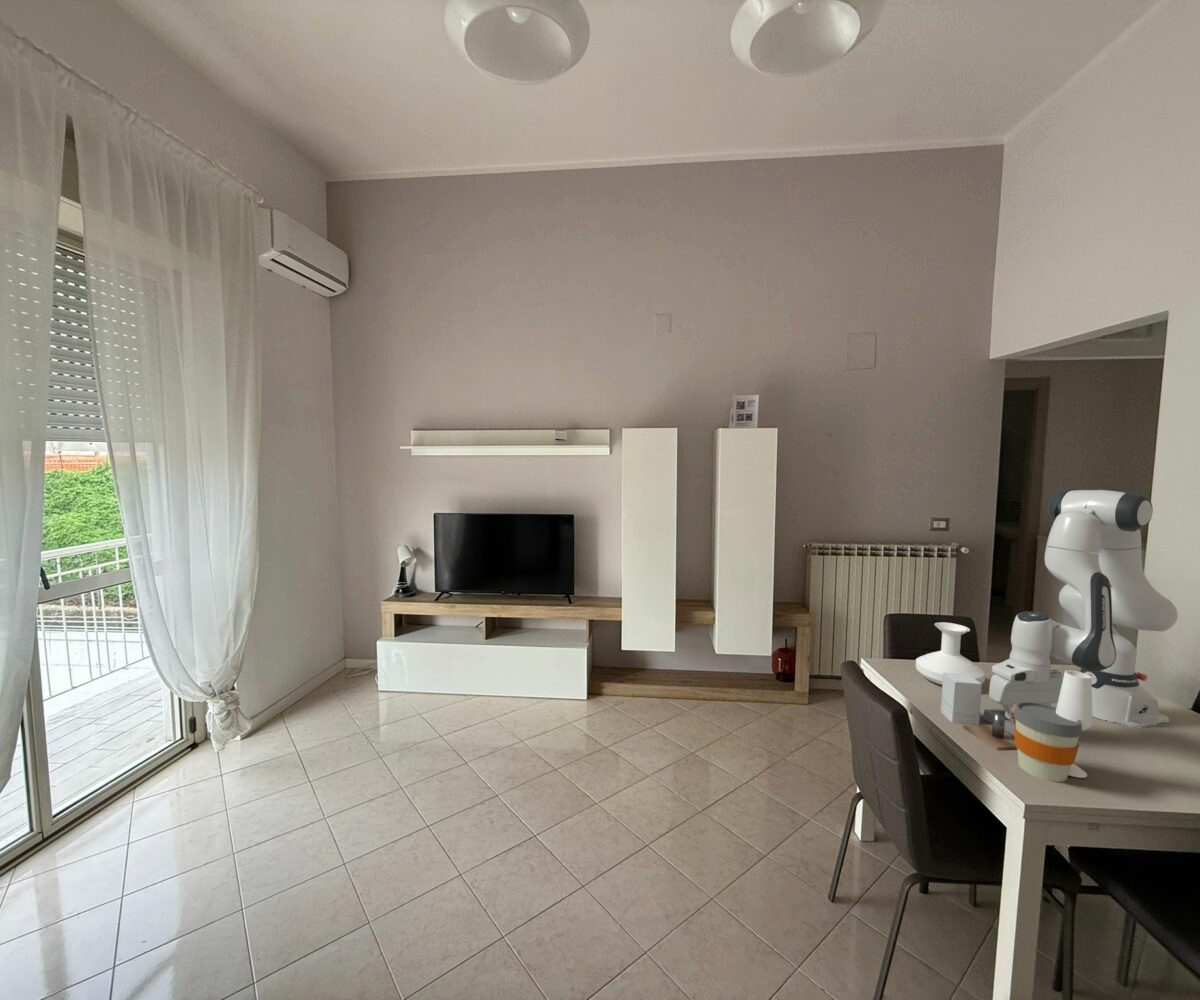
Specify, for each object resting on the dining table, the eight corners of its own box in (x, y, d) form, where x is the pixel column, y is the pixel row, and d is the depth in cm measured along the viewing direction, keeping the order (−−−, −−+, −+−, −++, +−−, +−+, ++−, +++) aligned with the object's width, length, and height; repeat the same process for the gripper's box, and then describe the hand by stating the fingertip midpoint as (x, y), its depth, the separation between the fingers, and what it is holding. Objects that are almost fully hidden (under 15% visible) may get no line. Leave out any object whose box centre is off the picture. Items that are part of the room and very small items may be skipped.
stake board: (995, 728, 146) (995, 724, 146) (1031, 750, 135) (1031, 745, 135) (962, 729, 145) (963, 725, 145) (996, 751, 134) (996, 747, 134)
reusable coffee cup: (1088, 793, 117) (1095, 730, 116) (1022, 780, 121) (1028, 719, 120) (1059, 764, 129) (1065, 706, 128) (1000, 753, 133) (1005, 697, 132)
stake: (997, 733, 141) (999, 712, 140) (1006, 738, 138) (1008, 716, 138) (989, 733, 140) (990, 712, 140) (997, 739, 138) (999, 717, 137)
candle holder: (986, 680, 179) (990, 626, 177) (981, 699, 164) (986, 641, 162) (919, 664, 192) (923, 614, 190) (909, 681, 176) (913, 627, 175)
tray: (1020, 717, 152) (1021, 708, 152) (1060, 739, 140) (1061, 729, 140) (983, 719, 151) (984, 709, 151) (1020, 741, 139) (1021, 731, 139)
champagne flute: (1082, 767, 126) (1091, 672, 125) (1091, 781, 120) (1101, 682, 119) (1047, 758, 130) (1055, 666, 128) (1054, 771, 124) (1063, 675, 122)
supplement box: (979, 726, 147) (983, 684, 146) (951, 723, 148) (954, 681, 147) (967, 714, 154) (969, 673, 153) (939, 711, 155) (942, 671, 154)
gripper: (1051, 664, 147) (1047, 710, 148) (986, 666, 145) (983, 713, 146) (1073, 673, 141) (1069, 721, 142) (1006, 675, 139) (1002, 724, 140)
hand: (1025, 717), depth 144 cm, fingers open, 8 cm apart
